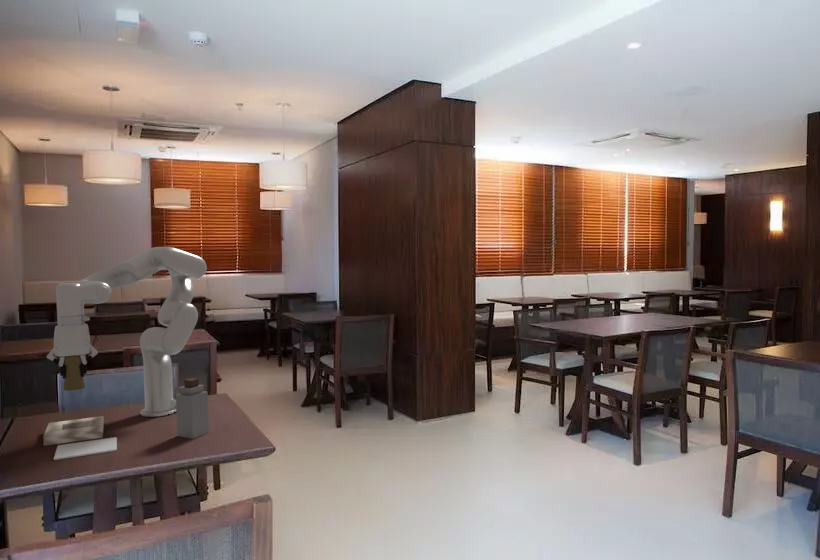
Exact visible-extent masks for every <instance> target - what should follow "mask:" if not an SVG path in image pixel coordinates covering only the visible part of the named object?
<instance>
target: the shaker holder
mask: <svg viewBox="0 0 820 560" xmlns="http://www.w3.org/2000/svg"><path fill="white" fill-rule="evenodd" d="M104 417H105V416H104V415H102V416H101V415H100V416H93V417H86V418H77V419H69V420H62V421H51V422H48V424H47V426H46V429H45V431H44V433H43V436H42V437H43V446H44V447H45V445H46V446H53V445H61V444H68V443H76V442H83V441H90V440H97V439H104V427H105V426H104V425H105V421H104V420H105V418H104Z"/></svg>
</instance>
